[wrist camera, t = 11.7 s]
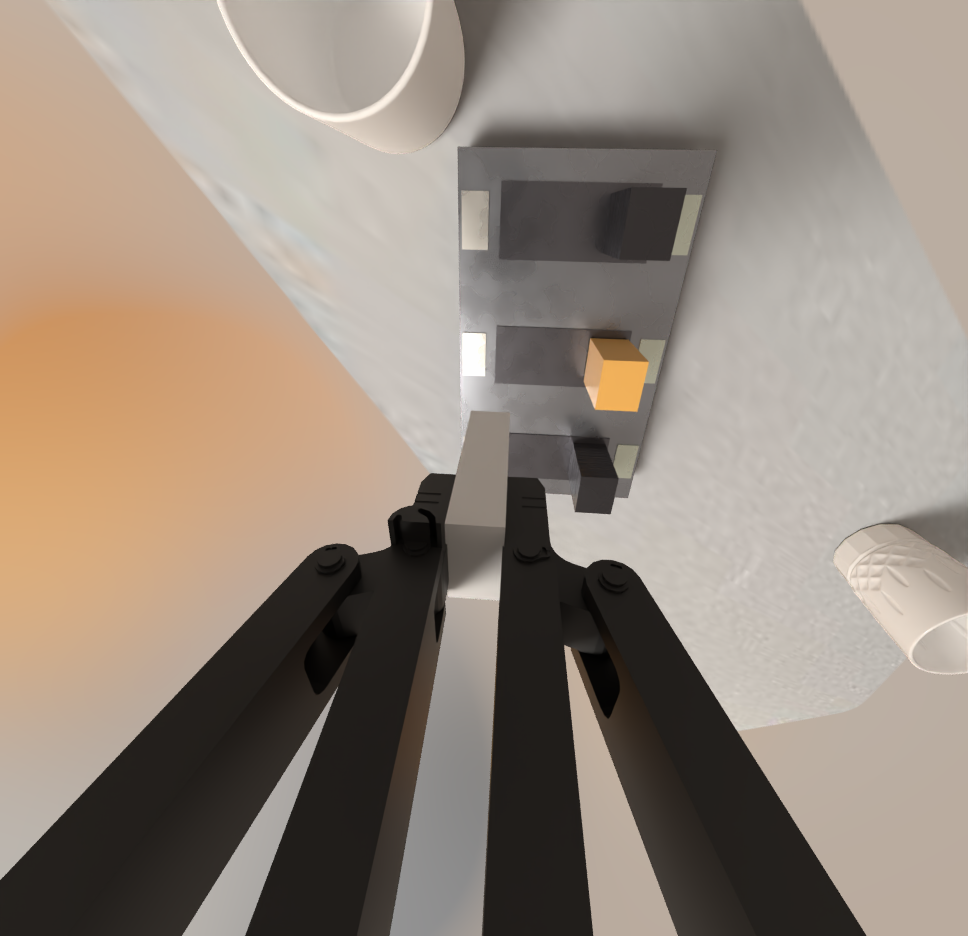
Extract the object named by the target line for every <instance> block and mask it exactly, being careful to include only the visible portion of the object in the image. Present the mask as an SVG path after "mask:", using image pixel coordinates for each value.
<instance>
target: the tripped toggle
mask: <svg viewBox="0 0 968 936" xmlns="http://www.w3.org/2000/svg"><path fill="white" fill-rule="evenodd" d="M648 365H649V361H648V360H647V359H646V358H645V357H644V356H643V355H642V354H641V353H640V352H639V351H638V349H637V348H636V347H635V346H634V345H633V344H632V343H631V342H630V341H629V340H625V339H599V338H590V344H589V350H588V357H587V363H586V369H585V376H584V384H585V386H586V389H587V391H588V394H589V396H590V399H591V401H592V403H593V406H594V408H595V410H613V411H634V412H637V411H638V407H639V402H640V398H641V394H642V390H643V386H644V382H645V377H646V373H647V369H648Z"/></svg>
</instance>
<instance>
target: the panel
mask: <svg viewBox="0 0 968 936" xmlns="http://www.w3.org/2000/svg"><path fill="white" fill-rule="evenodd" d="M716 152H717V150H672V149H595V148H518V147H458V213H459V297H460V382H461V452H462V447H463V443H464V439H465V434H466V430H467V426H468V422H469V417H470V413H471V411H487V412H509V413H510V427H509V452H508V477H526V478H538V479H539V481H540V482H541V483H542V485H543V486H544V487H545V493H550V494H567V495H572V499H573V504H574V509H575V512H583V513H599V514H611V510H612V506H613V502H614V497H619V498H628V495H629V491H630V488H631V484H632V480H633V476H634V472H635V468H636V464H637V460H638V456H639V452H640V449H641V445H642V441H643V437H644V433H645V429H646V425H647V421H648V417H649V413H650V410H651V406H652V402H653V398H654V394H655V390H656V386H657V382H658V378H659V375H660V371H661V367H662V363H663V359H664V355H665V351H666V347H667V343H668V339H669V336H670V332H671V328H672V324H673V320H674V316H675V312H676V308H677V304H678V300H679V297H680V293H681V289H682V285H683V281H684V277H685V273H686V269H687V265H688V262H689V258H690V254H691V250H692V246H693V242H694V238H695V234H696V230H697V226H698V223H699V219H700V215H701V211H702V207H703V203H704V199H705V195H706V191H707V187H708V184H709V180H710V176H711V172H712V168H713V164H714V160H715V156H716ZM590 338H599V339H625V340H629V341H630V342H631V343H632V344H633V345H634V346H635V347H636V348H637V349H638V351H639V352H640V353H641V354H642V355H643V356H644V357H645V358H646V359H647V360H648V361H649V365H648V369H647V373H646V377H645V382H644V386H643V390H642V394H641V398H640V402H639V407H638V411H637V412H634V411H613V410H595V408H594V406H593V403H592V401H591V399H590V396H589V394H588V391H587V389H586V386H585V384H584V376H585V369H586V363H587V357H588V350H589V344H590Z"/></svg>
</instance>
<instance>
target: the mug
mask: <svg viewBox="0 0 968 936" xmlns="http://www.w3.org/2000/svg"><path fill="white" fill-rule="evenodd" d="M217 3H218V6H219V9H220V11H221V13H222V16H223V18H224V21H225V23H226V25H227V28H228V29H229V31H230V33H231V35H232V37H233V39H234V41H235V43H236V45H237V47H238V48H239V50H240V52H241V53H242V55H243V56H244V58H245V59H246V61H247V63H248V64H249V65H250V67H251V68H252V69H253V70H254V72H255V73H256V74H257V76H258V77H259V78H260V79H261V80H262V81H263V82H264V84H265V85H266V86H267V87H268V88H269V89H270V90H271V91H272V92H273V93H275V94H276V95H277V96H278V97H279V98H280V99H282V100H283V101H284V102H285V103H287V104H288V105H290V106H291V107H293V108H294V109H296V110H298V111H300V112H302V113H304V114H306V115H308V116H310V117H312V118H314V119H316V120H318V121H319V122H321V123H323V124H325V125H327V126H329V127H331V128H333V129H335V130H337V131H339V132H341V133H343V134H345V135H347V136H349V137H351V138H353V139H355V140H357V141H359V142H361V143H363V144H365V145H367V146H369V147H371V148H374V149H376V150H379V151H382V152H386V153H392V154H406V153H411V152H415V151H417V150H420V149H422V148H424V147H426V146H428V145H429V144H431V143H432V142H433V141H434V140H436V139H437V138H438V137H439V136H440V135H441V134H442V132H443V131H444V130H445V128H446V127H447V126H448V124H449V123H450V121H451V119H452V117H453V115H454V113H455V110H456V108H457V105H458V103H459V99H460V95H461V92H462V86H463V80H464V69H465V53H464V43H463V35H462V30H461V25H460V21H459V16H458V13H457V10H456V6H455V3H454V0H217Z"/></svg>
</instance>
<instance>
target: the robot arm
mask: <svg viewBox="0 0 968 936" xmlns="http://www.w3.org/2000/svg"><path fill="white" fill-rule="evenodd" d="M509 427H510V413H509V412H487V411H471V413H470V417H469V422H468V426H467V430H466V434H465V439H464V443H463V447H462V452H461V456H460V460H459V464H458V469H457V473H456V475H453V474H435V473H431V474H429V475H428V476H427V477H426V478H425V479H424V480H423V481H422V482H421V485H420V488H419V490H418V494H417V496H416V499H415V503H414V504H413V506H407V507H404V508H401V509H399V510H397V511H396V512H394V513H393V514H392V515H391V516H390V518H389V519H388V526H389V533H390V540H391V547H389V548H386V549H384V550H381V551H378V552H373V553H368V554H363V555H358V553H357V552H356V550H355V549H354V548H353V547H351V546H348V545H346V544H331V545H326V546H324V547H321V548H319V549H317V550H315V551H314V552H313V553H312V554H310V555H309V556H307V558H306V559H305V560H304V561H303V562H302V563H301V564H300V565H299V566H298V567H297V568H296V569H295V570H294V571H293V572H292V573H291V574H290V575H289V577H288V578H287V579H286V580H285V581H284V582H283V583H282V584H281V585H280V586H279V587H278V588H277V589H276V590H275V591H274V592H273V593H272V595H271V596H270V597H269V598H268V599H267V600H266V601H265V602H264V603H263V604H262V605H261V606H260V607H259V608H258V609H257V610H256V611H255V612H254V614H252V616H251V617H250V618H249V619H248V620H247V621H246V622H245V623H244V624H243V625H242V626H241V627H240V628H239V629H238V630H237V631H236V632H235V633H234V634H233V636H232V637H231V638H230V639H229V640H228V641H227V642H226V643H225V644H224V645H223V646H222V647H221V648H220V649H219V650H218V651H217V652H216V653H215V655H214V656H213V657H212V658H211V659H210V660H209V661H208V662H207V663H206V664H205V665H204V666H203V667H202V668H201V669H200V670H199V671H198V672H197V674H196V675H195V676H194V677H193V678H192V679H191V680H190V681H189V682H188V683H187V684H186V685H185V686H184V687H183V688H182V689H181V691H179V692H178V694H177V695H176V696H175V697H174V698H173V699H172V700H171V701H170V702H169V703H168V704H167V705H166V706H165V707H164V708H163V709H162V710H161V711H160V713H159V714H158V715H157V716H156V717H155V718H154V719H153V720H152V721H151V722H150V723H149V724H148V725H147V726H146V727H145V728H144V729H143V730H142V731H141V732H140V734H139V735H138V736H137V737H136V738H135V739H134V740H133V741H132V742H131V743H130V744H129V745H128V746H127V747H126V748H125V749H124V750H123V751H122V753H121V754H120V755H119V756H118V757H117V758H116V759H115V760H114V761H113V762H112V763H111V764H110V765H109V766H108V767H107V768H106V769H105V770H104V771H103V773H102V774H101V775H100V776H99V777H98V778H97V779H96V780H95V781H94V782H93V783H92V784H91V785H90V786H89V787H88V788H87V789H86V790H85V792H84V793H83V794H82V795H81V796H80V797H79V798H78V799H77V800H76V801H75V802H74V803H73V804H72V805H71V806H70V808H68V809H67V810H66V812H65V813H64V814H63V815H62V816H61V817H60V818H59V819H58V820H57V821H56V822H55V823H54V824H53V825H52V826H51V827H50V829H48V831H47V832H46V833H45V834H44V835H43V836H42V837H41V838H40V839H39V840H38V841H37V842H36V843H35V844H34V845H33V846H32V847H31V848H30V850H29V851H28V852H27V853H26V854H25V855H24V856H23V857H22V858H21V859H20V860H19V861H18V862H17V863H16V864H15V866H13V867H12V868H11V870H10V871H9V872H8V873H7V874H6V875H5V876H4V877H3V878H2V879H1V880H0V936H182V935H183V933H184V932H185V930H186V928H187V927H188V925H189V924H190V922H191V920H192V919H193V917H194V916H195V914H196V912H197V911H198V909H199V908H200V906H201V904H202V902H203V901H204V899H205V898H206V896H207V895H208V893H209V892H210V890H211V889H212V887H213V885H214V884H215V882H216V881H217V879H218V877H219V876H220V874H221V873H222V871H223V869H224V868H225V866H226V865H227V863H228V861H229V860H230V858H231V856H232V855H233V853H234V852H235V850H236V849H237V847H238V845H239V844H240V842H241V841H242V839H243V837H244V836H245V834H246V833H247V831H248V829H249V827H250V826H251V824H252V823H253V821H254V819H255V818H256V816H257V815H258V813H259V812H260V810H261V809H262V807H263V805H264V804H265V802H266V801H267V799H268V797H269V796H270V794H271V793H272V791H273V789H274V788H275V786H276V785H277V783H278V781H279V780H280V778H281V777H282V775H283V773H284V772H285V770H286V769H287V767H288V765H289V764H290V762H291V761H292V759H293V757H294V756H295V754H296V753H297V751H298V750H299V748H300V746H301V745H302V743H303V741H304V740H305V738H306V737H307V735H308V734H309V732H310V730H311V729H312V727H313V725H314V724H315V722H316V721H317V719H318V718H319V716H320V714H321V713H322V711H323V710H324V708H325V706H326V705H327V703H328V702H329V700H330V698H331V697H332V695H333V694H334V692H335V690H336V689H337V687H338V689H337V691H336V694H335V697H334V699H333V702H332V705H331V707H330V711H329V713H328V716H327V718H326V721H325V724H324V726H323V729H322V732H321V735H320V737H319V740H318V742H317V745H316V748H315V751H314V753H313V756H312V758H311V761H310V764H309V767H308V769H307V772H306V774H305V777H304V780H303V782H302V785H301V788H300V790H299V793H298V796H297V799H296V801H295V804H294V807H293V810H292V812H291V815H290V817H289V820H288V823H287V825H286V828H285V831H284V833H283V836H282V839H281V842H280V844H279V847H278V849H277V852H276V855H275V858H274V860H273V863H272V865H271V868H270V871H269V873H268V876H267V879H266V882H265V884H264V887H263V890H262V893H261V895H260V898H259V900H258V903H257V906H256V908H255V911H254V914H253V917H252V919H251V922H250V924H249V927H248V930H247V932H246V935H245V936H389V935H390V929H391V923H392V918H393V912H394V906H395V900H396V895H397V889H398V884H399V877H400V872H401V866H402V861H403V855H404V849H405V843H406V837H407V832H408V827H409V820H410V815H411V809H412V803H413V798H414V792H415V786H416V781H417V775H418V769H419V764H420V758H421V753H422V747H423V741H424V735H425V729H426V724H427V718H428V713H429V706H430V701H431V696H432V690H433V684H434V678H435V673H436V667H437V661H438V655H439V649H440V644H441V638H442V633H443V627H444V621H445V616H446V608H445V600H446V595H447V590H448V597H456V598H470V599H485V600H499V601H500V602H499V619H498V637H497V657H496V676H495V696H494V714H493V733H492V752H491V754H492V755H491V772H490V791H489V811H488V829H487V848H486V867H485V887H484V907H483V925H482V936H593V929H592V919H591V908H590V899H589V890H588V879H587V869H586V859H585V849H584V839H583V829H582V819H581V810H580V800H579V790H578V779H577V770H576V760H575V750H574V740H573V730H572V720H571V710H570V701H569V690H568V681H567V671H566V661H565V652H564V651H565V650H564V645H566V646H568V647H571V651H572V654H573V656H574V659H575V662H576V664H577V667H578V670H579V673H580V675H581V678H582V680H583V683H584V686H585V689H586V691H587V694H588V697H589V699H590V702H591V705H592V707H593V710H594V713H595V715H596V718H597V721H598V723H599V726H600V729H601V731H602V734H603V736H604V739H605V742H606V745H607V747H608V750H609V752H610V755H611V758H612V760H613V763H614V766H615V769H616V771H617V774H618V777H619V779H620V782H621V785H622V787H623V790H624V792H625V795H626V798H627V801H628V803H629V806H630V809H631V811H632V814H633V817H634V819H635V822H636V825H637V827H638V830H639V832H640V835H641V838H642V840H643V843H644V846H645V849H646V851H647V854H648V857H649V859H650V862H651V864H652V867H653V870H654V873H655V875H656V878H657V881H658V883H659V886H660V889H661V891H662V894H663V897H664V899H665V902H666V905H667V907H668V910H669V913H670V915H671V918H672V921H673V923H674V926H675V929H676V931H677V934H678V936H866V934H865V933H864V931H863V929H862V928H861V926H860V925H859V923H858V922H857V920H856V918H855V917H854V915H853V914H852V912H851V911H850V909H849V907H848V906H847V904H846V903H845V901H844V900H843V898H842V896H841V895H840V893H839V892H838V890H837V889H836V887H835V885H834V884H833V882H832V881H831V879H830V877H829V876H828V874H827V873H826V871H825V869H824V868H823V866H822V865H821V863H820V862H819V860H818V858H817V857H816V855H815V854H814V852H813V850H812V849H811V847H810V846H809V844H808V843H807V841H806V840H805V838H804V836H803V835H802V833H801V832H800V830H799V828H798V827H797V826H796V824H795V822H794V821H793V819H792V817H791V816H790V814H789V813H788V811H787V809H786V808H785V806H784V805H783V803H782V802H781V800H780V798H779V797H778V796H777V794H776V792H775V790H774V789H773V787H772V786H771V784H770V783H769V781H768V779H767V778H766V776H765V775H764V773H763V771H762V770H761V768H760V767H759V765H758V764H757V762H756V760H755V759H754V757H753V756H752V754H751V752H750V751H749V749H748V748H747V746H746V745H745V743H744V741H743V740H742V738H741V737H740V735H739V734H738V732H737V730H736V729H735V727H734V726H733V724H732V722H731V721H730V719H729V718H728V716H727V715H726V713H725V711H724V710H723V708H722V707H721V705H720V703H719V702H718V700H717V699H716V697H715V696H714V694H713V692H712V691H711V689H710V688H709V686H708V684H707V683H706V681H705V680H704V678H703V677H702V675H701V673H700V672H699V670H698V669H697V667H696V666H695V664H694V662H693V661H692V659H691V658H690V656H689V654H688V653H687V651H686V650H685V648H684V647H683V645H682V643H681V642H680V640H679V639H678V637H677V635H676V634H675V632H674V631H673V629H672V628H671V626H670V624H669V623H668V621H667V620H666V618H665V617H664V615H663V613H662V612H661V610H660V609H659V607H658V605H657V604H656V602H655V601H654V599H653V598H652V596H651V594H650V593H649V591H648V590H647V588H646V586H645V585H644V583H643V582H642V580H641V579H640V577H639V576H638V575H637V574H636V573H635V571H634V570H633V569H631V568H630V567H628V566H626V565H625V564H623V563H620V562H617V561H613V560H600V561H596V562H593V563H592V564H591V565H590V566H589V567H587V568H584V567H581V566H578V565H575V564H572V563H570V562H568V561H566V560H564V559H563V558H561V557H560V556H558V555H557V554H556V553H555V552H554V550H553V548H552V547H551V543H550V538H549V527H548V516H547V506H546V495H545V487H544V486H543V485H542V483H541V482H540V481H539V479H538V478H526V477H508V452H509Z"/></svg>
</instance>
